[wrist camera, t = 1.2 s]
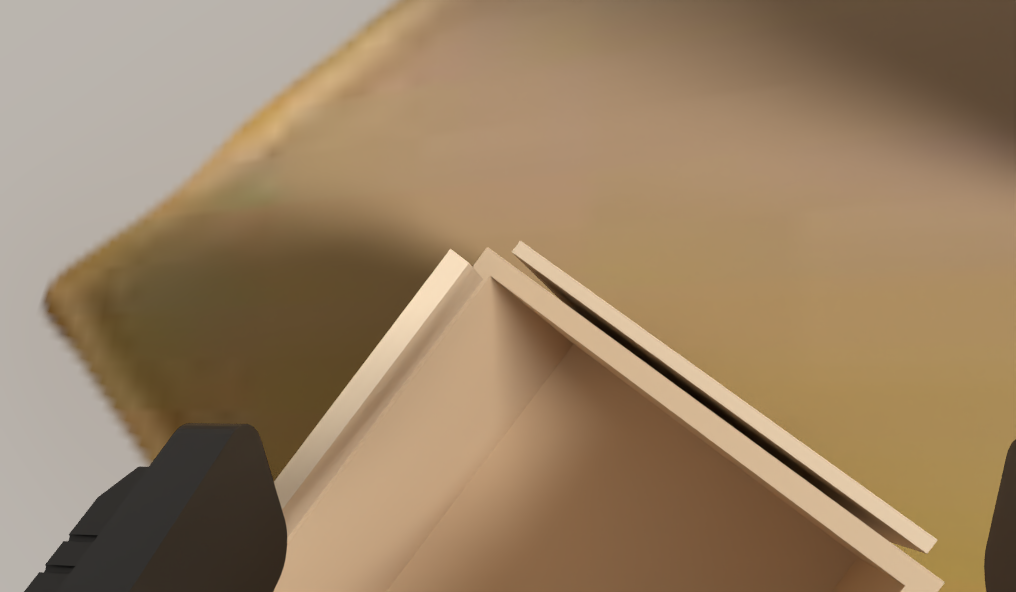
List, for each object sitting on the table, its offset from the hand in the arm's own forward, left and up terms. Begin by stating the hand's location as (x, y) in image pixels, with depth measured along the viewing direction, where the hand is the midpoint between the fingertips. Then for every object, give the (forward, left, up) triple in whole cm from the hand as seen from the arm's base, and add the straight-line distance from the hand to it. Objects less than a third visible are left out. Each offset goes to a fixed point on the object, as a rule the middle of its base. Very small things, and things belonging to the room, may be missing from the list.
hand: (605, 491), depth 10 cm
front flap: (+6, -6, -8) cm, 12 cm away
